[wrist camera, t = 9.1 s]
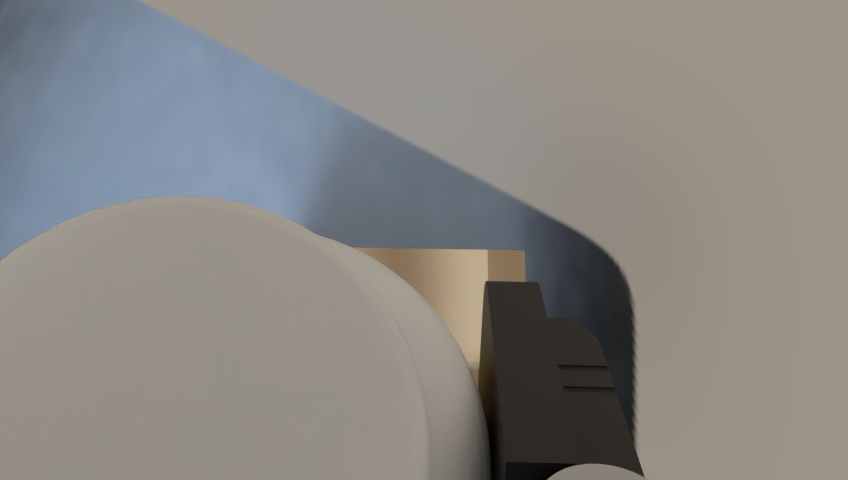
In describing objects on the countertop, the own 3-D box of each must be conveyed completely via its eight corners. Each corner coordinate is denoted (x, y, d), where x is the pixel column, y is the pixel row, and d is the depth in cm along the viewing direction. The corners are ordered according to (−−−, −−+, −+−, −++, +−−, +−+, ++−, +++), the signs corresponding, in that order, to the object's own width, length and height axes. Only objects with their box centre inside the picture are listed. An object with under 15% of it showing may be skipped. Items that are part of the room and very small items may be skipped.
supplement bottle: (475, 352, 15) (550, 138, 6) (451, 645, 13) (505, 978, 4) (216, 325, 15) (-97, 79, 6) (160, 611, 14) (-388, 860, 4)
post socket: (252, 656, 27) (208, 703, 22) (281, 288, 32) (250, 245, 26) (512, 661, 27) (537, 708, 22) (505, 291, 32) (524, 250, 26)
